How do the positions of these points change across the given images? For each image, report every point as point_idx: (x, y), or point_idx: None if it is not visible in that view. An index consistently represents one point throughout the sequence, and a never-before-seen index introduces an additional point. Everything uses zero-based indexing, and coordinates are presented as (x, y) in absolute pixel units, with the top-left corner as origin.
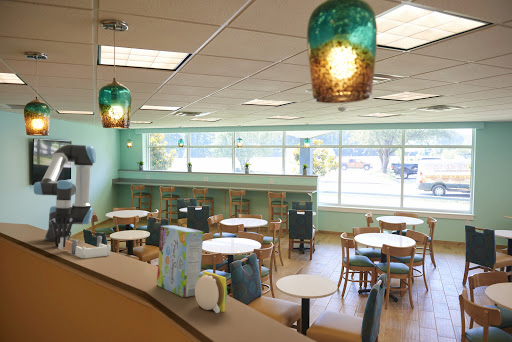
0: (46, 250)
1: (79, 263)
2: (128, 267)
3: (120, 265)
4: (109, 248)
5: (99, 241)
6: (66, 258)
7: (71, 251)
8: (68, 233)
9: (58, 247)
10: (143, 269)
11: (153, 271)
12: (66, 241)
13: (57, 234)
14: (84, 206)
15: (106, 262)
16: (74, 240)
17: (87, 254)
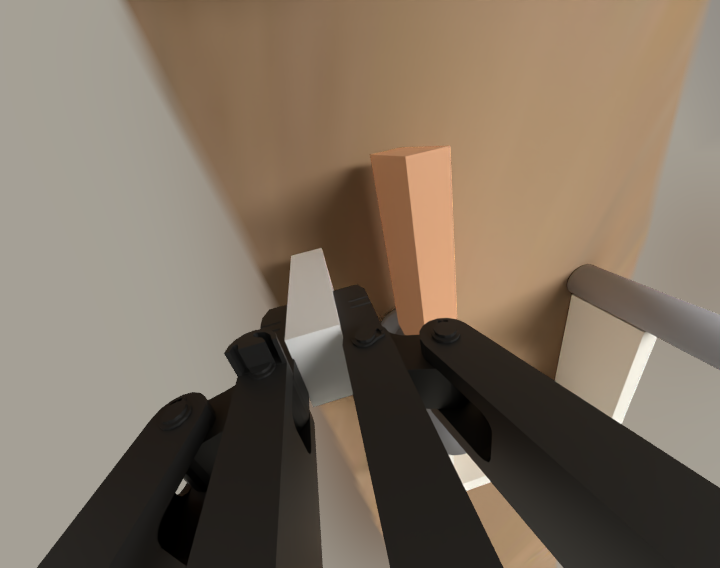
0: (134, 10)
1: (377, 508)
2: (499, 540)
3: (494, 525)
4: None
5: (671, 343)
6: (337, 429)
7: (398, 322)
8: (475, 425)
9: (292, 264)
10: (519, 551)
11: (526, 561)
12: (409, 212)
13: (237, 428)
14: None
15: (476, 496)
16: (453, 453)
17: None
